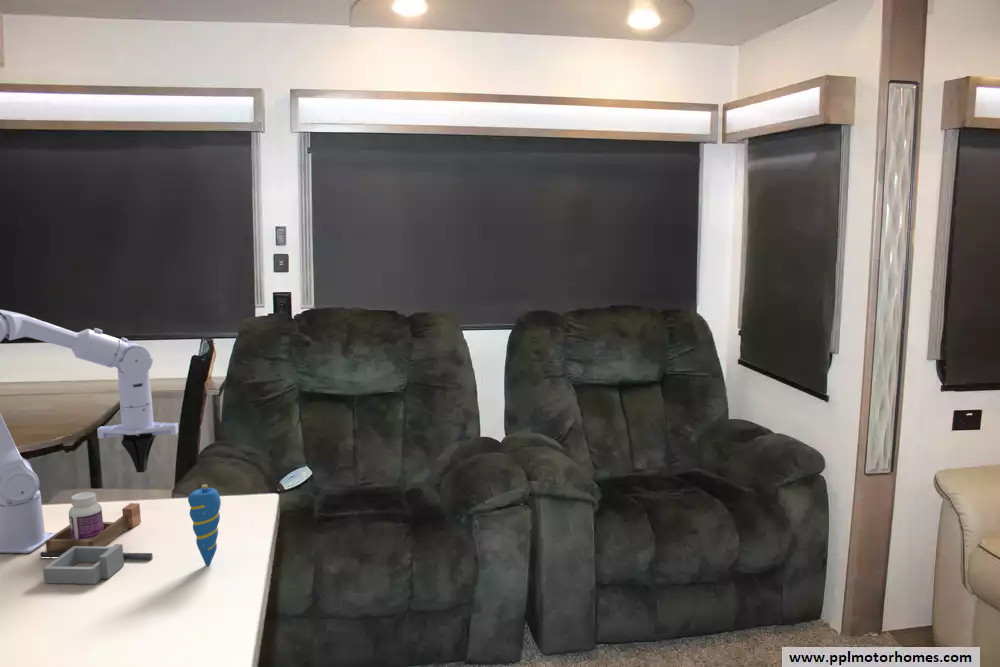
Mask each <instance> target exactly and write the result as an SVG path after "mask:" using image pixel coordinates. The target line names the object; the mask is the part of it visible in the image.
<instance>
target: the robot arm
mask: <svg viewBox="0 0 1000 667" xmlns="http://www.w3.org/2000/svg"><path fill="white" fill-rule="evenodd" d="M103 332H104V331H103V329H100V328H97V327H94V328H93V329H90V328H86V329H83V330H81V331H79V332H76V331H72V330H70V329H66V328H64V327H61V326H59V325H58V326H57V325H55V324H52V323H49V322H46V321H42V320H41V319H37V318H35V317H32V316H29V315H27V314H23V313H19V312H15V311H10V310H4V309H0V343H1V342H2V341H3V340H4V339H5V338H7V340H8V341H14V340H17V339H22V338H25V337H26V338H30V339H33V340H38V341H41V342H45V343H49V344H53V345H57V346H61V347H64V348H68V349H70V350H72V352H73V355H74V357H75V358H76V359H80V360H82V361H83V360H84V361H87V362H90V363H93V364H97V365H100V366H104V367H107V368H115V369H117V377H118V382H117V387H118V397H119V410H120V421H121V423H119V424H114V425H104V426H102V425H101V426H99V427H97V429H96V430H97V439H105V438H115V437H116V438H117V437H118V438H119V437H120V438H121V437H122V440H121V444H122V446H123V448H124V449H125V450H126V451H127V453H128V455H129V457H130V458H131V460H132V462H133V465H134V467H135V471H136V473H145V471H147V470H148V461H149V456H150V452H151V450H152V447H153V444H154V441H155V438H156V437H157V436H159V435H171V436H177V434H178V433H179V423H178V422H159V421H158V422H157V421H155V422H154V410H153V400H152V399H153V398H152V386H151V379H150V369H151V368H152V364H153V357H151V354H150V352H149V351H148V350H147V349H146V348H145V347H143V346H141V345H140V344H138V343H135V342H133V341H132V340H129V339H128V338H125V337H121V338H117V337H115V336H112V335H108V334H107V333H106V334H105V333H103ZM7 426H8V425H7V424H6V421H5V419H4V418H3V415H2V414H1V412H0V553H3V554H5V553H7V554H11V553H12V554H16V553H17V554H30V553H32V552H34V551H35V550H36V549H38V548H39V547H41V546H42V545H44V544H46V540H48V539H49V538H51V537H52V536H54V535H55V534H57V532H45V531H46V530H45V523H44V512H43V504H42V494H41V491H40V490H39V489H40V480H39V476H38V475H37V473H35V471H34V470H33V467H32V465H31V463H30V462H29V461H28V460H27V459H25V458H24V457H23V456H21V454H20V451H19V450H18V448H17V445H16V444H15V441H14V439H13V437H12V434H11V433H10V430H9V429H8V427H7ZM43 543H44V544H43Z"/></svg>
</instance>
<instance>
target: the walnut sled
mask: <svg viewBox="0 0 1000 667" xmlns="http://www.w3.org/2000/svg"><path fill="white" fill-rule="evenodd" d="M121 510H122V516H121V517H119V518H117V520H115V521H103V527H104V530H103V531H102V532H100V533H99V534H98V535H96V536H95V537H94V538H92V539H91V540H81V539H71V530H70V524H68V525H67V526H66V527H64V528H63V529H61V530H60V531H58V532H56V534H55V535H54V536H52V537H51V538H49V539H48V540H46V542H45V548H46V552H66V551H68V550H69V549H70V548H72V547H73V546H106V547H107V546H108V544H110V543H111V542H112V541H114V540H115V539H116V538H117V537H119V536H121V535H122V533H124V532H125V531H126V530H128V529H133V528H135V527H136V526H138V525H140V523H141V522H142V519H141V518H142V517H141V506H140V502H132V503H131V502H129V503H128V505H126V506H124V507H123V508H122V509H121Z"/></svg>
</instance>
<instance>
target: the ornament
mask: <svg viewBox="0 0 1000 667" xmlns="http://www.w3.org/2000/svg"><path fill="white" fill-rule="evenodd" d="M204 482H205V484H202V485H201V488H198V489H196V490H194V491H192V492H191V493H190V494H189V495H188V498H187V500H188V504H189V506H190V509H189V517H190V519H191V521H192V522H193V524H192V530H193V532H194V534H195V536H196V539H195V542H196V546H197V548H198V551H199V553H200V555H201V557H202V560H203V562H204V564H205V565H206V566H210V565H211V564H212V560H213V559H214V557H215V555H216V551H217V548H218V546H217V545H218V544H217V539H218V536H219V529H218V525H219V523H220V519H221V518H220V517H221V515H220V512H219V511H220V509H221V497H220V494H219V492H218V490H217V489H216V488H213V487H208V484H207V483H206V481H203V483H204Z"/></svg>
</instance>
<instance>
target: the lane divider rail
mask: <svg viewBox="0 0 1000 667" xmlns="http://www.w3.org/2000/svg"><path fill="white" fill-rule="evenodd" d="M64 553H65V552H47V551H41V552H39V555H40V558H41V557H59V556H61V555H62V554H64ZM123 558H124V559H129V560H130V561H131V560H132V561H151V560H153V553H152V552H123Z"/></svg>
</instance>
